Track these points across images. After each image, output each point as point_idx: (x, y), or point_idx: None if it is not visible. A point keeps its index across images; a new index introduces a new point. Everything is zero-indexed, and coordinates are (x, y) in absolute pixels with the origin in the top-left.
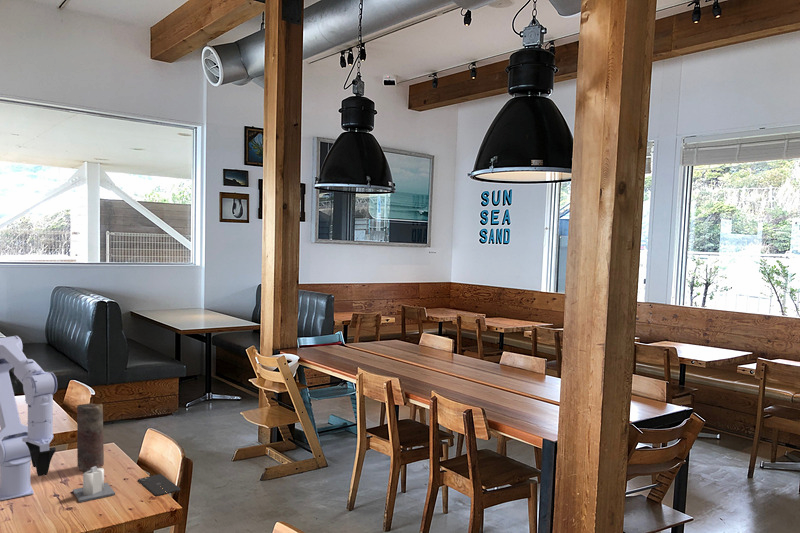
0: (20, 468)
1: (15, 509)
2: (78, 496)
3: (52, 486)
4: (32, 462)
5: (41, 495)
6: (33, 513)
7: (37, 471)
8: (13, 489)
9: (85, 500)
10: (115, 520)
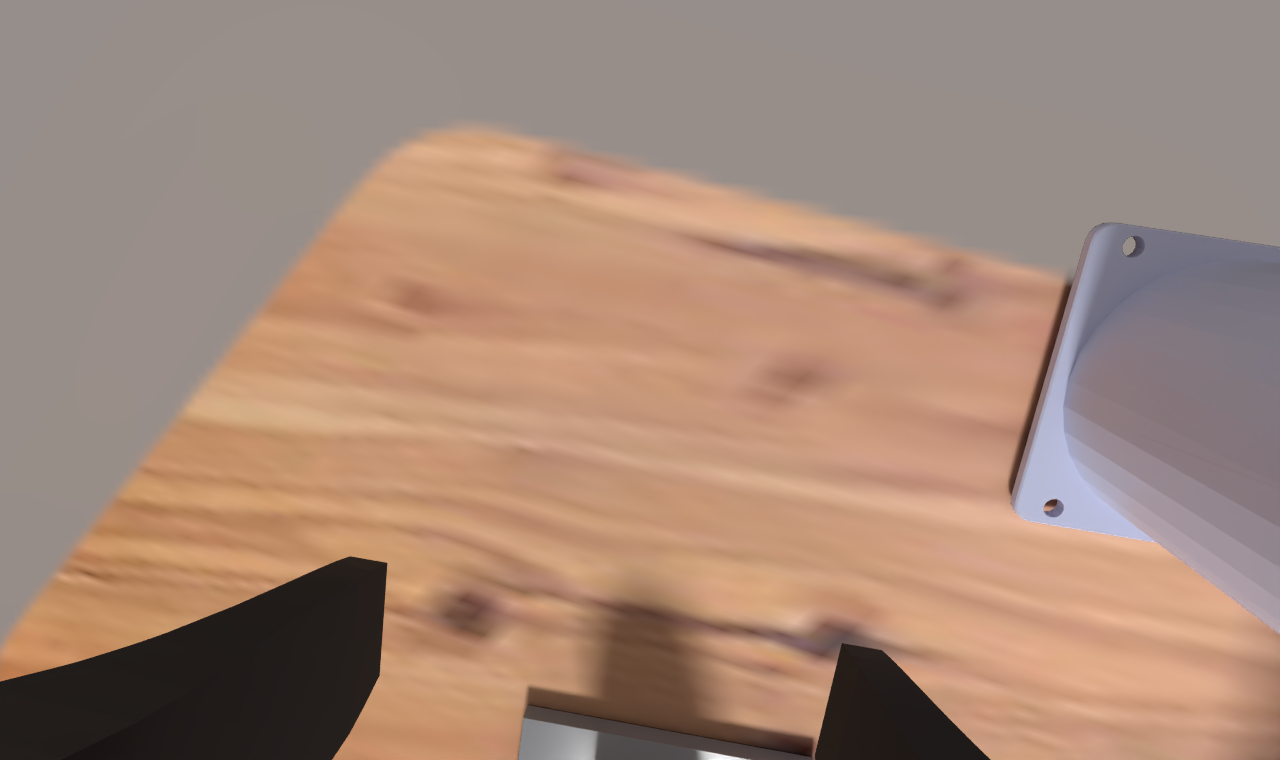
0: (1271, 529)
1: (761, 278)
2: (618, 744)
3: (1077, 688)
4: (864, 684)
5: (929, 550)
6: (555, 370)
7: (285, 586)
8: (1118, 363)
9: (519, 750)
10: None
